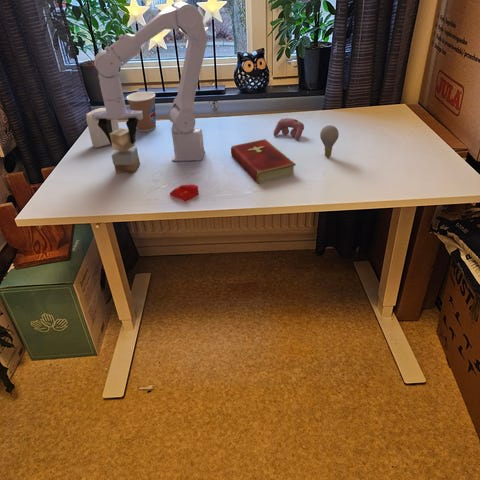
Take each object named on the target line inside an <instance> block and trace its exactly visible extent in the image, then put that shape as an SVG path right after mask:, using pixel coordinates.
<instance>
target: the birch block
mask: <svg viewBox="0 0 480 480" xmlns="http://www.w3.org/2000/svg"><path fill="white" fill-rule="evenodd" d="M110 138H111V142H112V144H111V146H112V150H114V151H116V150H118V151H123V152H125V151H127V150H128V149H130V148H132V147H135V143H134V144H132V143H131V139H130V133H129V130H128V128H120V127H119V129H117V130H116V131H114V132H112V133H110Z"/></svg>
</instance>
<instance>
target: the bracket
mask: <svg viewBox="0 0 480 480" xmlns="http://www.w3.org/2000/svg"><path fill="white" fill-rule="evenodd" d="M169 196H171V197H173V198H176V199H178V200H181V201H183V202H186V203H187V202H189V201H190V200H192V199H194V198H196V197H198V196H199V186H198V185H196V184H181V185H180V186H177V187H176V188H174V189H173V190H171V191H170V192H169Z"/></svg>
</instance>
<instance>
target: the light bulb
mask: <svg viewBox="0 0 480 480" xmlns="http://www.w3.org/2000/svg"><path fill="white" fill-rule="evenodd" d="M319 136H320V140H321V142H322V144H323V145H324V146H323V147H324V156H325V157H326V158H329V157H331V156H332V152H333V147H334V146H335V144H336V142H337V141H338V139H339V137H340V134H339V130H338V128H337V127H336V126H334V125H331V124H330V125H326V126H324V127H323V128H322V129H321V130H320V134H319Z"/></svg>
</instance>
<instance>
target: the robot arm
mask: <svg viewBox="0 0 480 480" xmlns="http://www.w3.org/2000/svg"><path fill="white" fill-rule="evenodd" d="M178 29H180V30H181V33H182V34H183V35H184V37H185V38H186V40H187V46H186V51H185V55H184V61H183V65H182V70H181V76H180V80H179V84H178V88H177V89H178V90H177V95H176V96H175V98H174V99H173V103H172V105H171V107H170V108H168V113H167V116H168V119H169V121H170V122H171V123H172V124H171V137H172V144H173V150H174V151H173V152H174V153H173V156H172V159H171V161H172V162H178V161H179V162H180V161H181V162H182V161H184V162H185V161H202V160H203V156H204V153H205V146H204V136H203V130H202V129H201V128H196V118H195V113H196V107H195V98H196V93H197V88H198V84H199V79H200V75H201V71H202V66H203V62H204V57H205V52H206V48H207V44H208V36H207V32H206V30H205V29H206V28H205V24H204V16H203V15H202V13H200V11H199V9H198V8H197V7H196V6H195V5H194V4H189V3H187V2H185V1H183V0H176V1H174V2H173V3H172V4H171V5H168V6H166V7H165V8H164V9H162V10H161V11H160V12H158V13H157V14H156V15H155V16H154V17H152V19H150V20H149V21H148V22H147V23H146V24H144V25H143V26H142V27H140V29H138V30H137V31H135V33H133V34H131V33H125V34H124V35H123V34H122V33H121V34H120V35H118V36H117V37H118V40H116V41H115V42H114V43H112V44H111V45H110V46H108V45H106V46H105V47H104V51H103V50H102V51H99V52H97V54H96V55H95V57H94V60H93V65H94V67H95V69H96V70H97V73H98V74H97V75H98V76H97V78H98V80H99V87H100V92H101V95H102V100H103V104H104V108H105V109H106V111H102V112H93V114H92V119H93V121H97V120H99V123H98V126H99V127H100V128H101V129H102V130H103V132H104V133H105V134H106V136H107V138H108V140H109V142H110V144H109V145H112V142H111V138H110V133H112V132H113V131H112V125H111V120H114V119H117V120H126V122H125V125H126V126H127V130H129V133H130V139H131V143H132V144H134V145H135V143H136V132H137V123H138V120H141V119H142V118H143V113H142V111H134V110H131V109H127V105H126V101H125V97H124V92H123V91H124V90H123V86H122V81H121V79H120V76H119V72H120V67H124V65H126V64H128V62H130V61H131V60H132V59H134V58H135V57H136V56H138V55H139V54H140V53H141V48H142V46H143V45H144V44H145V43H147V42H149V41H151V39H153V38H154V37H156V36H157V35H159V34H160V33H162V32H163V31H164V30H178Z"/></svg>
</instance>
